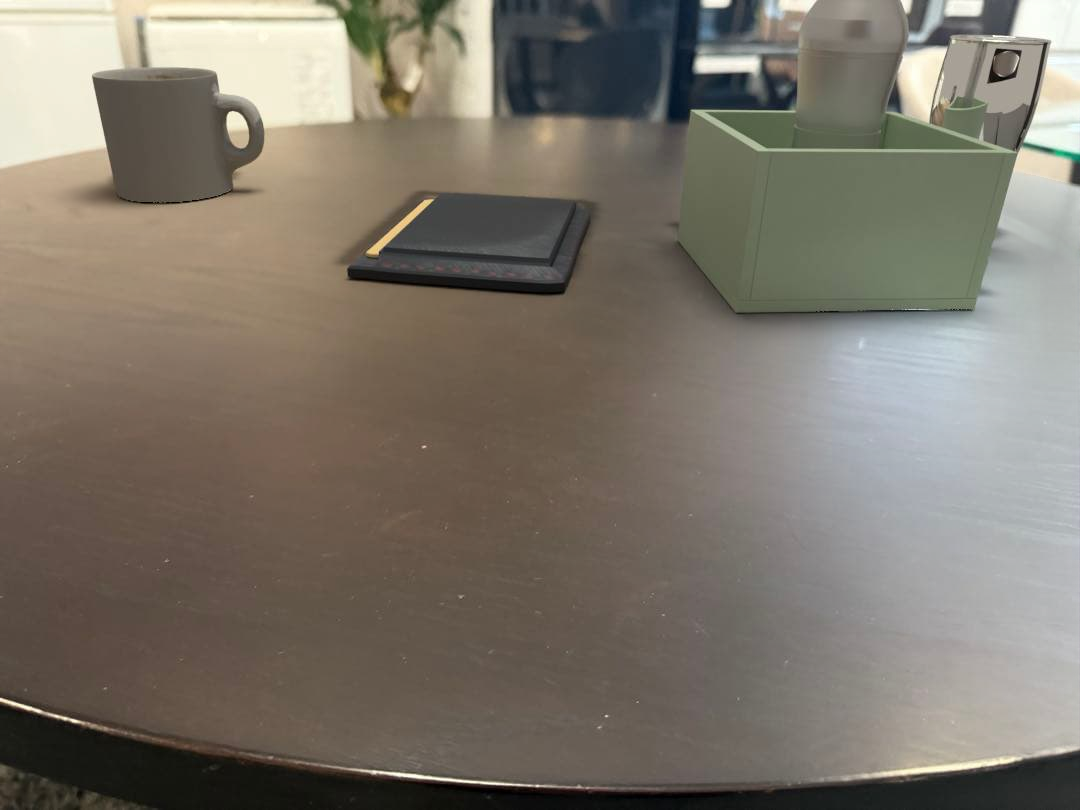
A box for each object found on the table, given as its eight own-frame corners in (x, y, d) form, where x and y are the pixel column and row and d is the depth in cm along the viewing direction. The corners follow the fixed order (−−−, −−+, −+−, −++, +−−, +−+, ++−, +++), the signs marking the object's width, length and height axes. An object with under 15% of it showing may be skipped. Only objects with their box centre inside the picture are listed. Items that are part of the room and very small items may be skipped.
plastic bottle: (872, 279, 56) (946, -65, 46) (768, 272, 56) (820, -67, 47) (855, 250, 61) (918, -61, 52) (761, 244, 62) (806, -63, 53)
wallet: (564, 268, 53) (335, 250, 55) (563, 296, 54) (338, 278, 56) (599, 195, 70) (424, 184, 72) (598, 217, 71) (425, 205, 73)
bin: (868, 239, 67) (894, 111, 62) (974, 310, 53) (1018, 152, 49) (677, 240, 66) (690, 109, 61) (735, 313, 52) (758, 150, 47)
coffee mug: (92, 199, 73) (65, 77, 68) (155, 175, 81) (134, 65, 77) (238, 208, 71) (220, 84, 66) (286, 183, 80) (272, 71, 75)
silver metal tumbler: (885, 239, 67) (929, 36, 60) (928, 226, 71) (974, 33, 64) (970, 261, 62) (1029, 43, 55) (1011, 245, 66) (1071, 39, 59)
